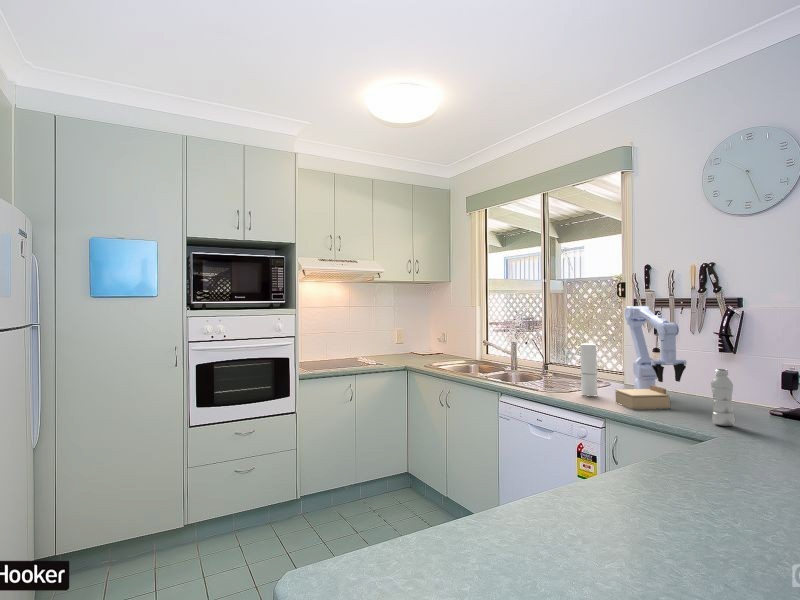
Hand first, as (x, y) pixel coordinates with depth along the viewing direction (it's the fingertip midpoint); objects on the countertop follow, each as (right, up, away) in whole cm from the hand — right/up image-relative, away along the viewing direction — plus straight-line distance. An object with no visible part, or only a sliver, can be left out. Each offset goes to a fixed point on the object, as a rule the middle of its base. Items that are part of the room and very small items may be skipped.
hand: (669, 381), depth 198 cm
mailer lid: (-12, -5, 0) cm, 13 cm away
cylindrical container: (-24, -11, +25) cm, 37 cm away
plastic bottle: (-1, -10, -35) cm, 36 cm away
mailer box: (-12, -11, 0) cm, 16 cm away
